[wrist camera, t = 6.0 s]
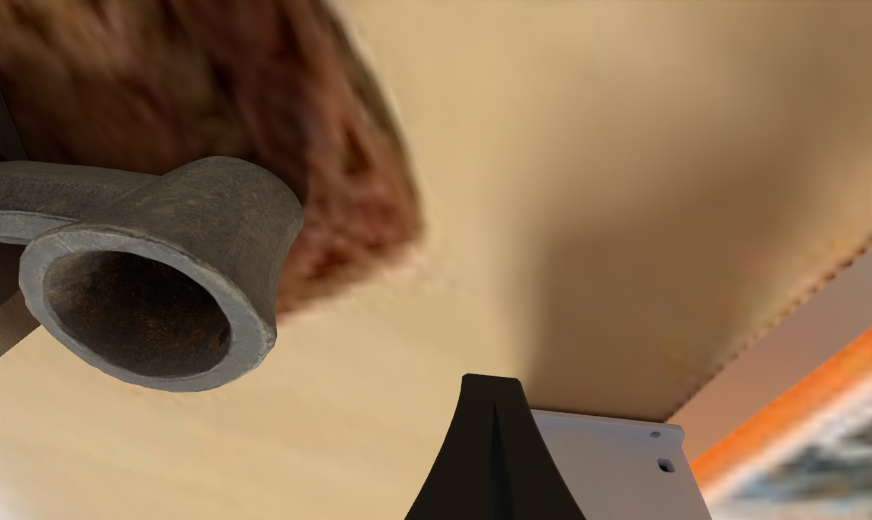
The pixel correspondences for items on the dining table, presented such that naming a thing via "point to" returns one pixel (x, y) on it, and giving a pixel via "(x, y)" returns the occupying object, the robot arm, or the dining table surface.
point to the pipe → (153, 264)
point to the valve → (12, 253)
